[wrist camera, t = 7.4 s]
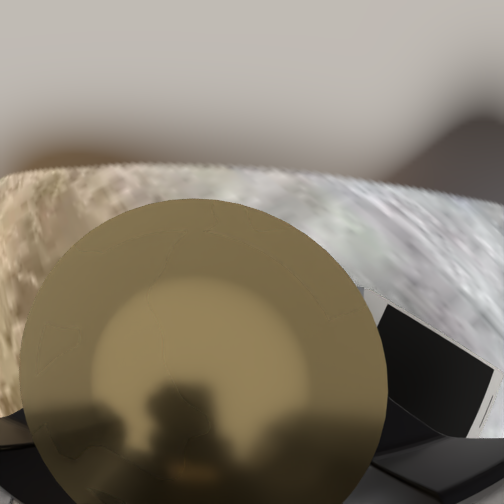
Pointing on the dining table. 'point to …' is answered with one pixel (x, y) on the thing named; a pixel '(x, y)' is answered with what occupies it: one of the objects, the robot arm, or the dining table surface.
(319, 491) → the gold piece
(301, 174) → the dining table surface
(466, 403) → the smartphone
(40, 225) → the dining table surface
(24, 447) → the robot arm
